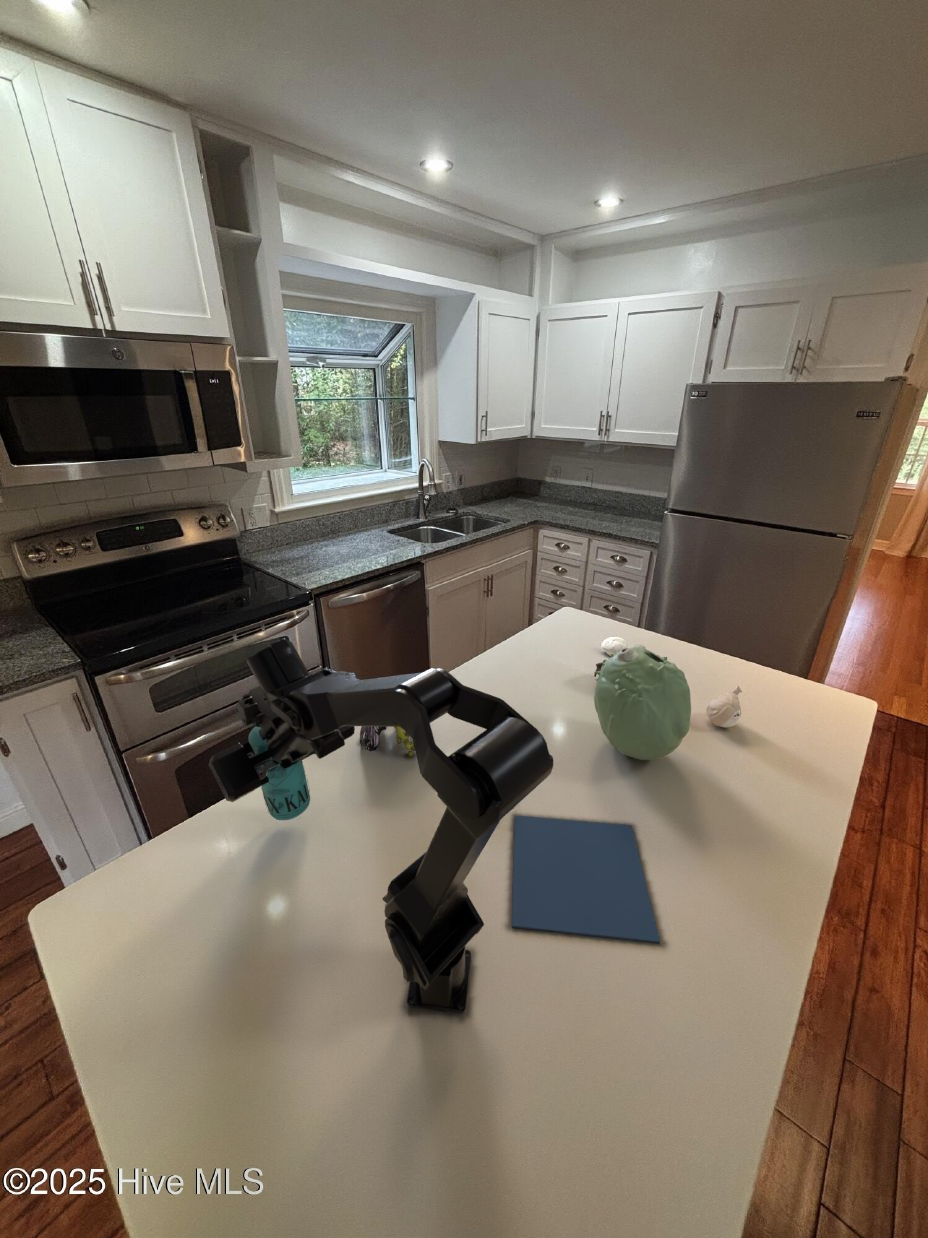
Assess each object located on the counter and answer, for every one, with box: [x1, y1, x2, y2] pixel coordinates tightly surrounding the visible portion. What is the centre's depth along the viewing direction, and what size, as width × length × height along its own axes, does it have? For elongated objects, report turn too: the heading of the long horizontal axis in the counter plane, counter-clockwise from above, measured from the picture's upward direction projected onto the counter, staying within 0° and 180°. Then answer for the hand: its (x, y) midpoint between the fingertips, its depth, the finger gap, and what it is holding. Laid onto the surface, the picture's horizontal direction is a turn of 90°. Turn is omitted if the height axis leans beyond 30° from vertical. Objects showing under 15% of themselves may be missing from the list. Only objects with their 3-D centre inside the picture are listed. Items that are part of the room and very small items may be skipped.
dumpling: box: [600, 636, 628, 657], centre depth 127 cm, size 7×5×4 cm
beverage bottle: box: [247, 725, 311, 821], centre depth 73 cm, size 6×7×20 cm
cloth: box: [511, 815, 661, 944], centre depth 70 cm, size 18×18×1 cm
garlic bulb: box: [705, 685, 743, 728], centre depth 99 cm, size 7×6×8 cm
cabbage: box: [593, 644, 692, 761], centre depth 89 cm, size 16×19×20 cm
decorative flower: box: [359, 726, 415, 757], centre depth 93 cm, size 14×12×15 cm
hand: (273, 760), depth 74 cm, fingers closed on beverage bottle, 6 cm apart
